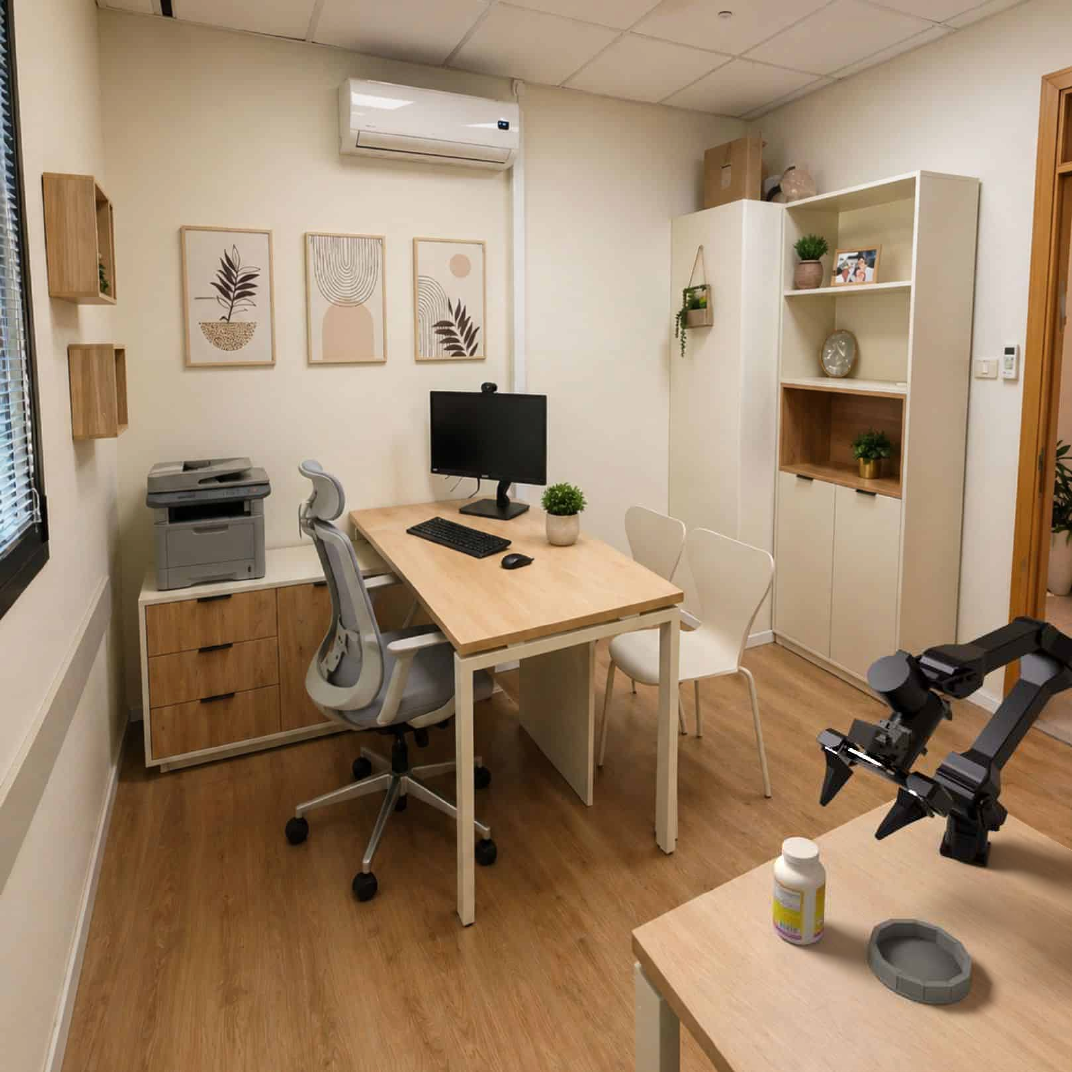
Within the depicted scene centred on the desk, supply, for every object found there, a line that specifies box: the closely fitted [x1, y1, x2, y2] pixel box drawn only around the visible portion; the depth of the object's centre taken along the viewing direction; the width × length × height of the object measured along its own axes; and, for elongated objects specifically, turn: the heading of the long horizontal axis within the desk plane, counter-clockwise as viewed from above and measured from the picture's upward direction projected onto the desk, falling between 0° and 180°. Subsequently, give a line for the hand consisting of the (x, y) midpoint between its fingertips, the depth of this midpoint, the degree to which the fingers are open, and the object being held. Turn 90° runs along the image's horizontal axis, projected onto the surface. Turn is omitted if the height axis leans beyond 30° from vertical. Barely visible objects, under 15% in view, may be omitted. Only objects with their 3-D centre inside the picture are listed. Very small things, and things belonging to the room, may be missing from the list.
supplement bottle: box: [772, 836, 827, 945], centre depth 111 cm, size 7×7×13 cm
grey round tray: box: [866, 918, 973, 1006], centre depth 104 cm, size 12×12×2 cm
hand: (848, 821), depth 112 cm, fingers open, 9 cm apart
